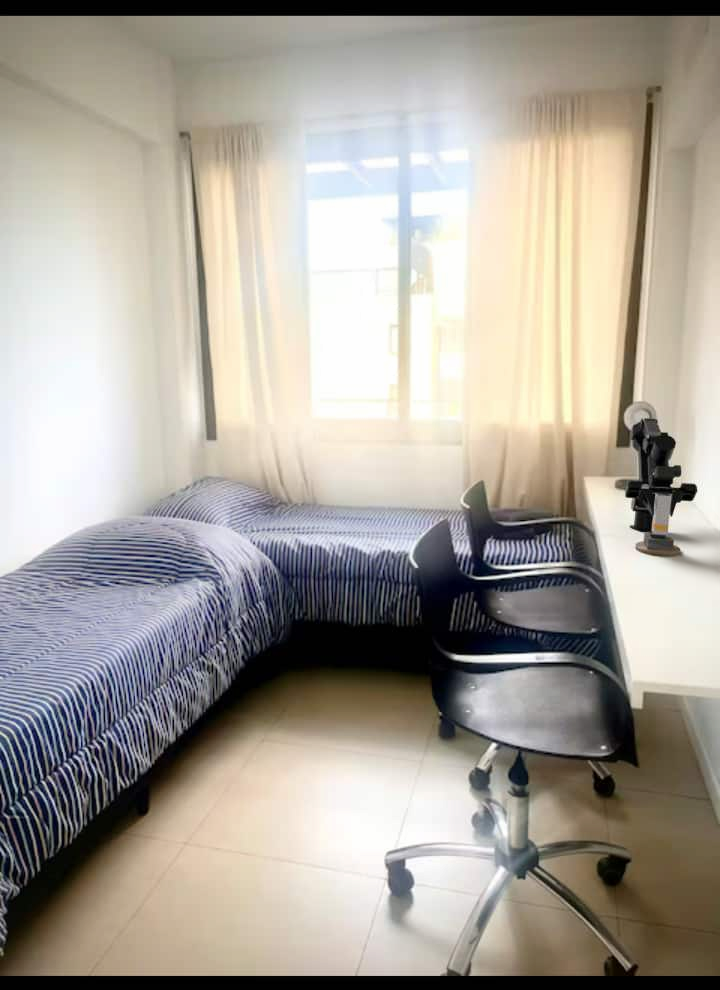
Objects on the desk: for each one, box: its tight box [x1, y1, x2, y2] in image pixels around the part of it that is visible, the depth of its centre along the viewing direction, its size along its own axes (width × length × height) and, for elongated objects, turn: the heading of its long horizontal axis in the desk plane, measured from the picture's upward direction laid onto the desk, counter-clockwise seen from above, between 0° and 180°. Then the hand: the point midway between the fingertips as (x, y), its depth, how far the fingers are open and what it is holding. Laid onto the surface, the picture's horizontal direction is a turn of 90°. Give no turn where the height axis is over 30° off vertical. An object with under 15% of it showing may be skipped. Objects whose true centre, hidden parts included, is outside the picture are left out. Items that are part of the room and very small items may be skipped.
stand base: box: [635, 532, 681, 557], centre depth 200 cm, size 12×12×4 cm
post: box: [651, 493, 672, 535], centre depth 198 cm, size 4×4×11 cm
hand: (662, 515), depth 196 cm, fingers open, 5 cm apart
